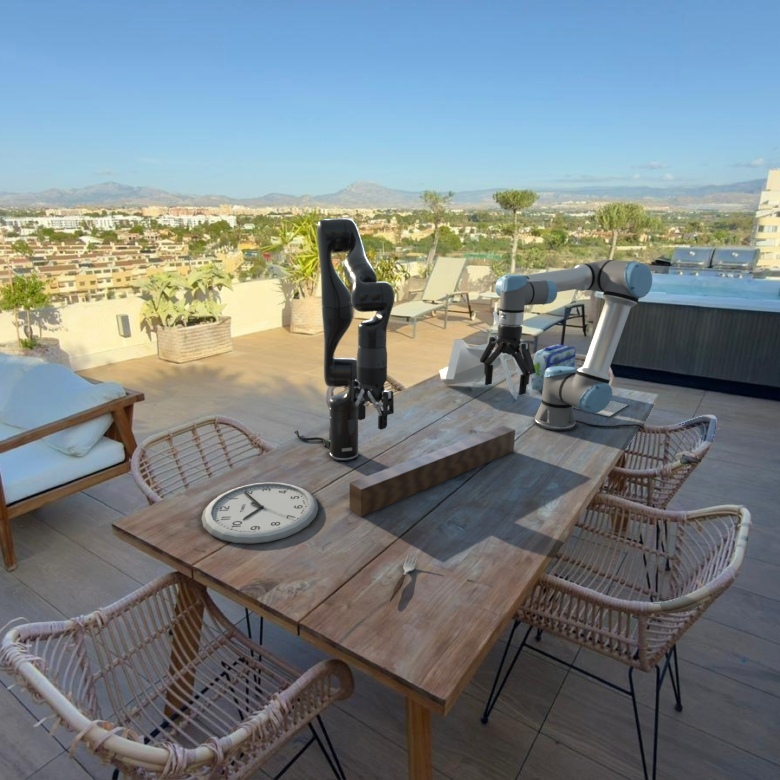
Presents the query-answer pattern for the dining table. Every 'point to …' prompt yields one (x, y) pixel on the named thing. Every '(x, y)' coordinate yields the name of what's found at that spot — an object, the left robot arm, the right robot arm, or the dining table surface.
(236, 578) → the dining table surface
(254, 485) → the wall clock
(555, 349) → the lunch box
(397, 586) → the fork
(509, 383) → the white plastic object
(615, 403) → the invitation card
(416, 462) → the beam
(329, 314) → the left robot arm
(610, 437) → the dining table surface
